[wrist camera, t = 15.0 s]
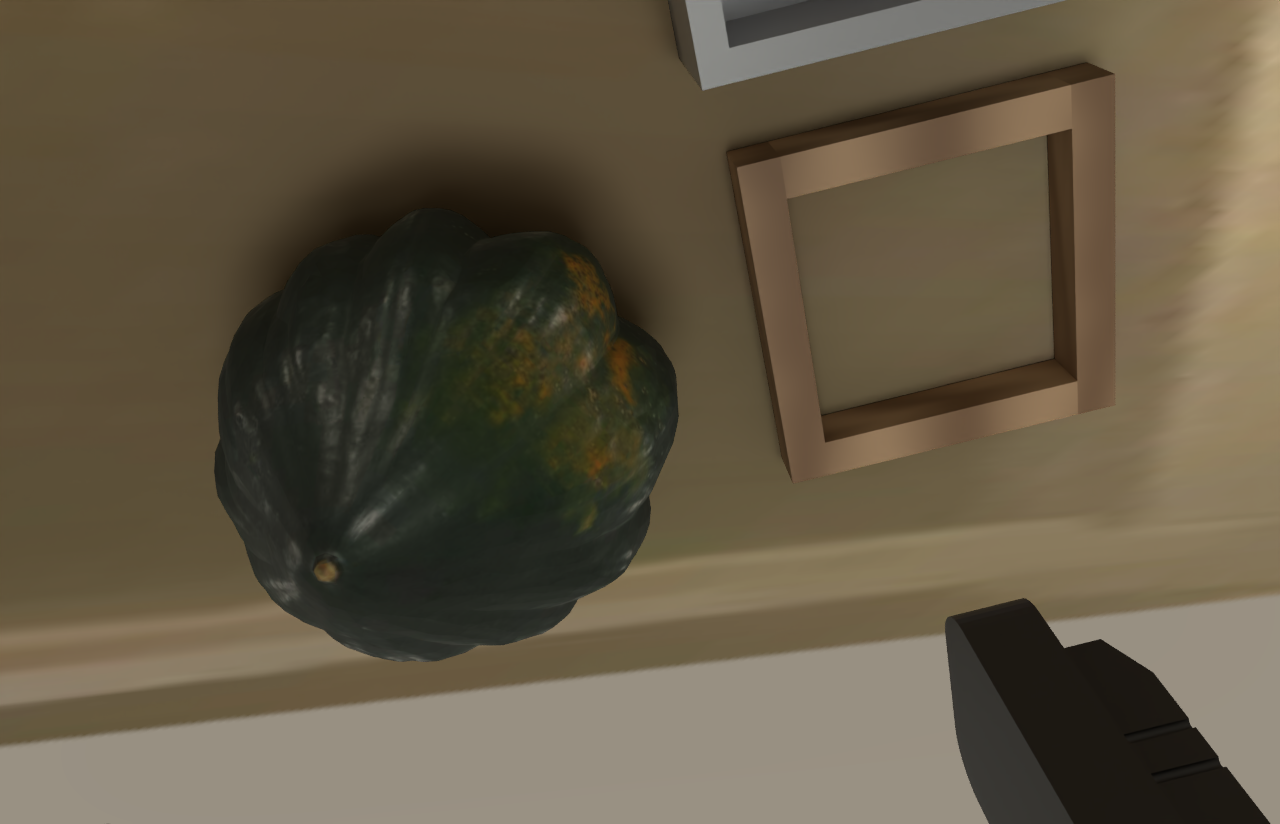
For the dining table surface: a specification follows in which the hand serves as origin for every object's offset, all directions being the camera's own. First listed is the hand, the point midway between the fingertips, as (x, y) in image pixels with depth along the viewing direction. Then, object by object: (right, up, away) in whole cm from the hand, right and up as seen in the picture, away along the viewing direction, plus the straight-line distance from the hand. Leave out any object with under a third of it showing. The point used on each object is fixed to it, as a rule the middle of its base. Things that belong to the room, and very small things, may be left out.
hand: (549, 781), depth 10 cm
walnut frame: (+12, +9, +31) cm, 34 cm away
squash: (-6, +5, +31) cm, 32 cm away
